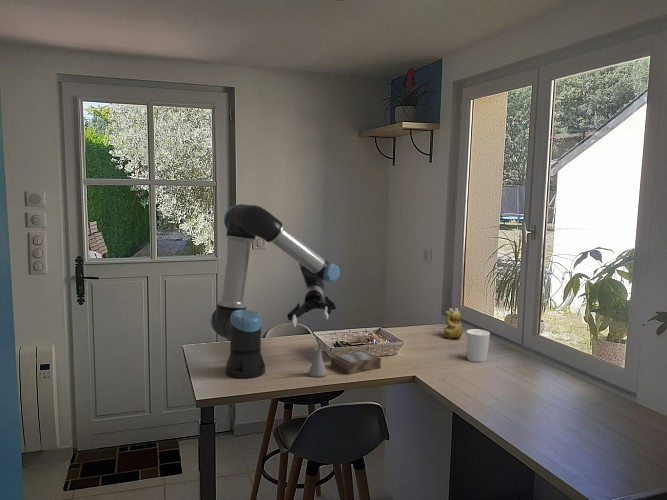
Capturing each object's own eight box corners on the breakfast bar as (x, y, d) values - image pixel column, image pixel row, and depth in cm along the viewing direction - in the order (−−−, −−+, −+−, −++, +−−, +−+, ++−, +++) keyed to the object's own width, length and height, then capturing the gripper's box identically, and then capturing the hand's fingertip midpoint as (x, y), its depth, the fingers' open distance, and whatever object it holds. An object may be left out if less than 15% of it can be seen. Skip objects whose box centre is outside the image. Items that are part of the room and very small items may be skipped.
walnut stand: (347, 374, 210) (348, 363, 210) (330, 366, 220) (331, 355, 220) (380, 368, 219) (380, 357, 219) (362, 360, 229) (363, 350, 228)
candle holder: (493, 361, 231) (494, 334, 230) (474, 363, 228) (475, 335, 226) (479, 355, 240) (480, 328, 239) (460, 357, 237) (461, 330, 236)
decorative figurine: (453, 335, 274) (454, 305, 273) (466, 338, 268) (468, 308, 267) (440, 337, 268) (442, 308, 267) (454, 341, 262) (455, 311, 260)
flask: (328, 372, 213) (328, 347, 212) (326, 378, 206) (326, 352, 205) (309, 371, 214) (310, 346, 213) (307, 377, 206) (307, 351, 205)
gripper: (344, 298, 234) (342, 321, 214) (289, 311, 238) (282, 336, 218) (339, 282, 231) (337, 305, 212) (284, 296, 235) (276, 320, 215)
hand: (309, 321), depth 215 cm, fingers open, 13 cm apart
